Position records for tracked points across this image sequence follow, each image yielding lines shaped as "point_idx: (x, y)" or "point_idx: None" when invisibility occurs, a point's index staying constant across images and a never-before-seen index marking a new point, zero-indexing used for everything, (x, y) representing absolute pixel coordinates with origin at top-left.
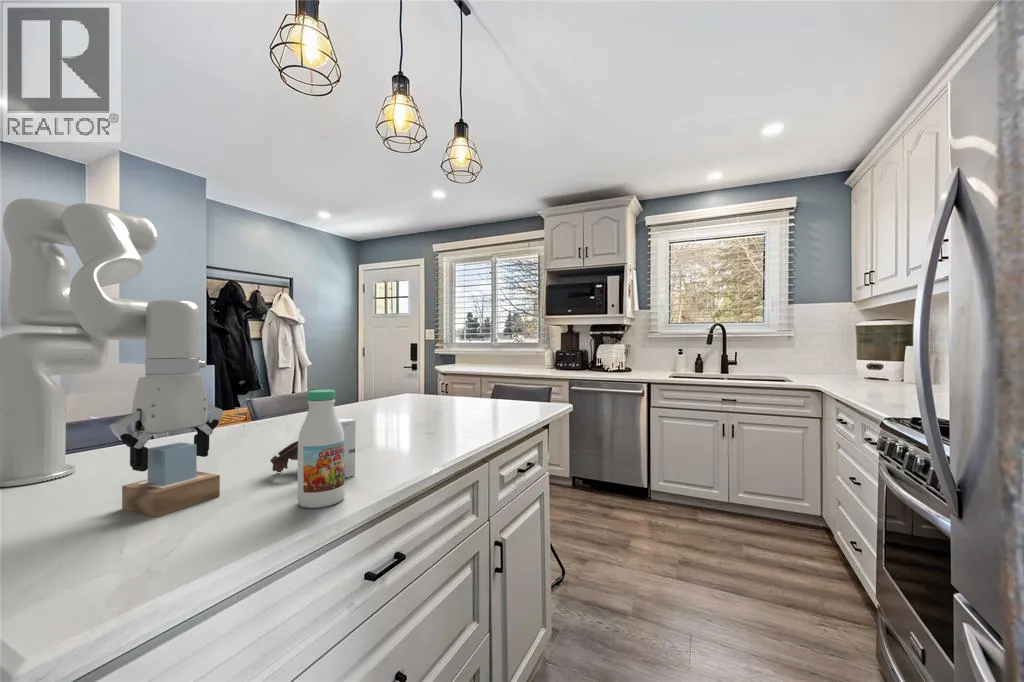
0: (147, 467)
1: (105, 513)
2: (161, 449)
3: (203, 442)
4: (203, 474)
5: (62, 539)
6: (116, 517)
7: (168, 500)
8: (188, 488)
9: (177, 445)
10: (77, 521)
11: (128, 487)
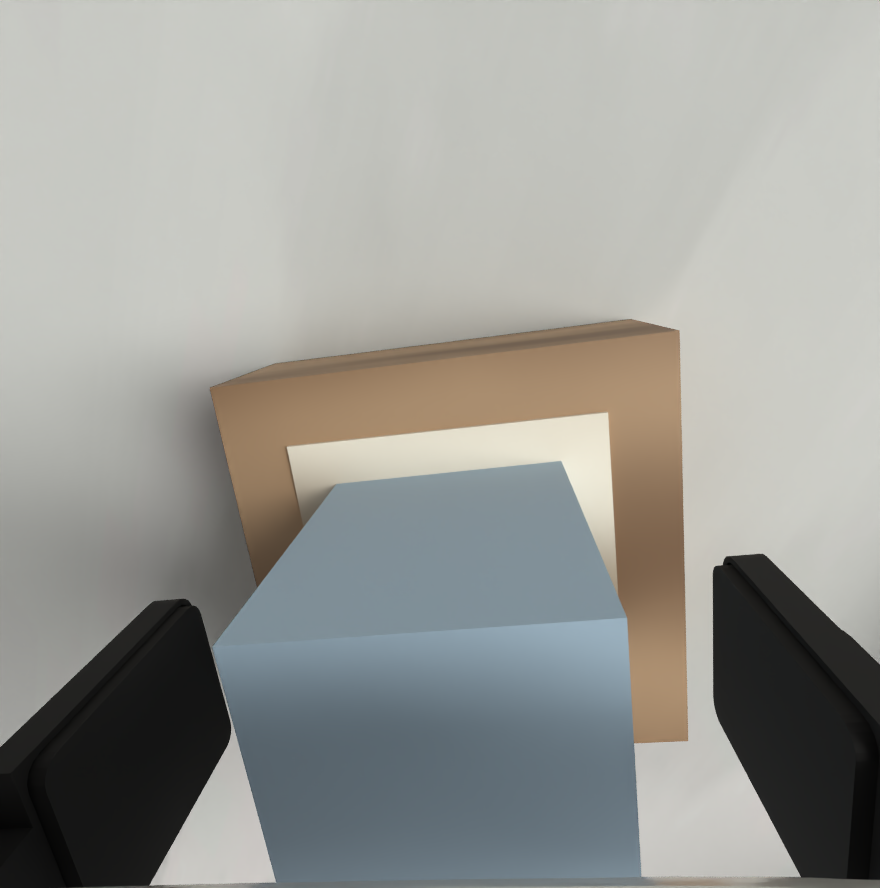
0: (221, 751)
1: (204, 362)
2: (292, 851)
3: (794, 851)
4: (647, 627)
5: (34, 577)
6: (225, 488)
7: None
8: None
9: (494, 806)
10: (94, 371)
11: (230, 467)
